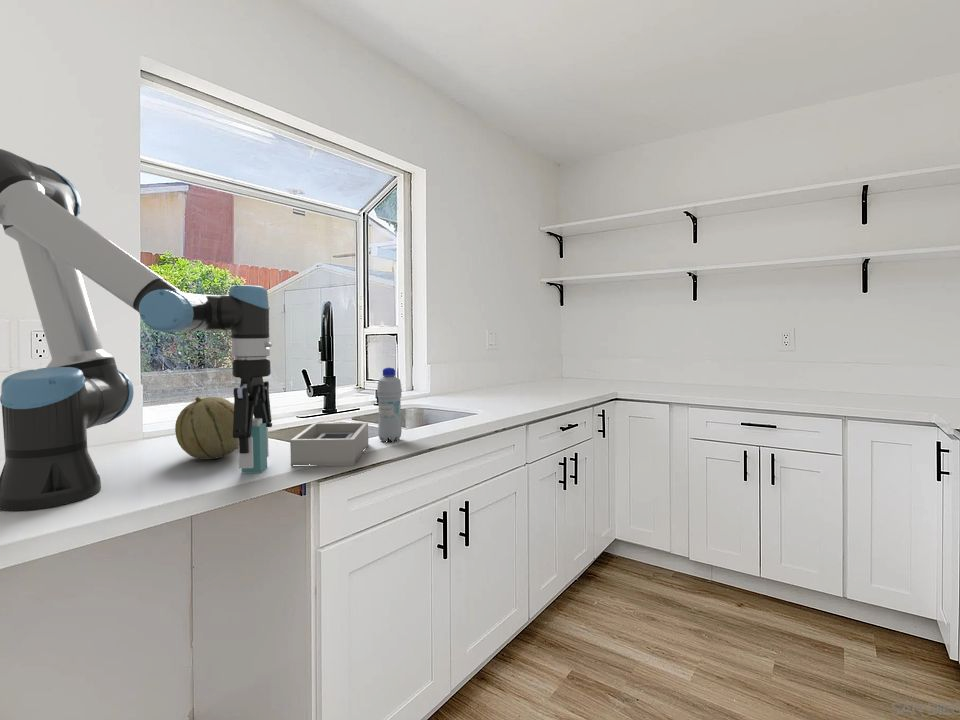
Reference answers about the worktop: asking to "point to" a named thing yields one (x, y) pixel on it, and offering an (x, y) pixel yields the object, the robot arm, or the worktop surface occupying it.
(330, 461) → the box
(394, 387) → the bottle
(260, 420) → the block
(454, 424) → the worktop surface
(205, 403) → the cantaloupe
